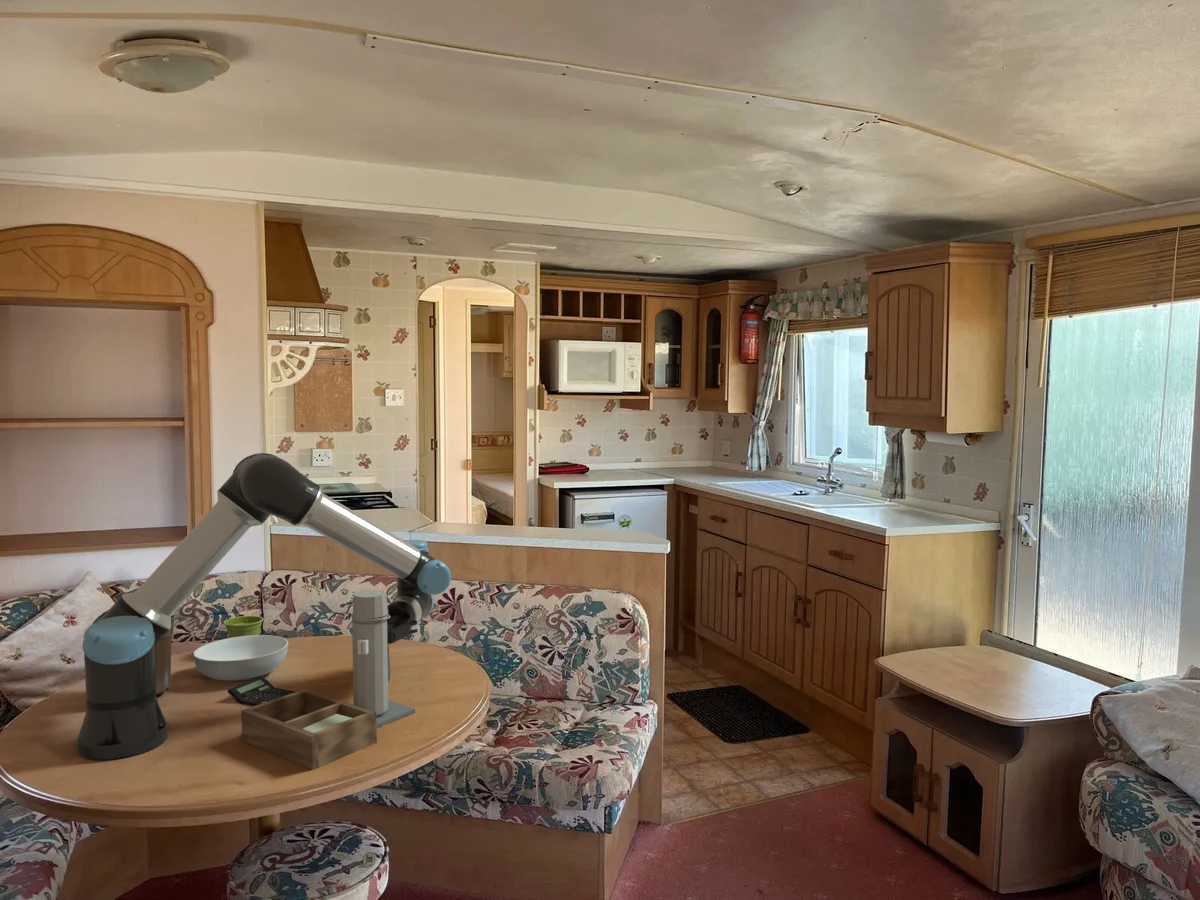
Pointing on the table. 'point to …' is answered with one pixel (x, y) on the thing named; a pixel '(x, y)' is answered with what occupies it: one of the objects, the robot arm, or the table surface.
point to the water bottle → (371, 651)
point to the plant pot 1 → (163, 660)
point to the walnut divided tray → (288, 715)
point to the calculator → (257, 692)
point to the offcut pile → (326, 723)
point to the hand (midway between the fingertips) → (361, 647)
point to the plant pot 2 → (243, 626)
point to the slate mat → (393, 713)
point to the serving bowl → (241, 657)
